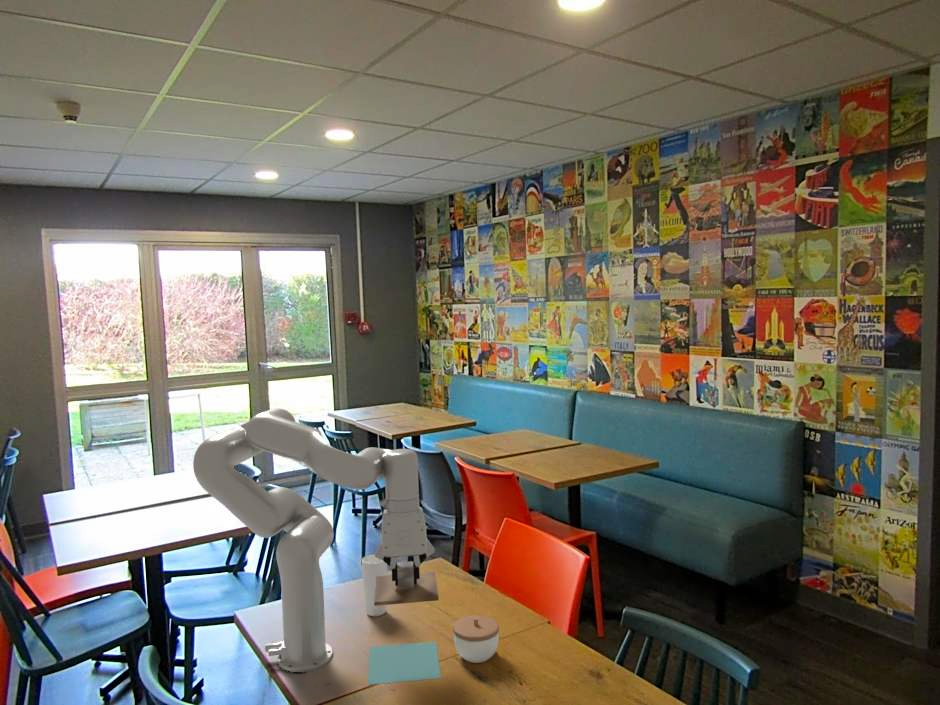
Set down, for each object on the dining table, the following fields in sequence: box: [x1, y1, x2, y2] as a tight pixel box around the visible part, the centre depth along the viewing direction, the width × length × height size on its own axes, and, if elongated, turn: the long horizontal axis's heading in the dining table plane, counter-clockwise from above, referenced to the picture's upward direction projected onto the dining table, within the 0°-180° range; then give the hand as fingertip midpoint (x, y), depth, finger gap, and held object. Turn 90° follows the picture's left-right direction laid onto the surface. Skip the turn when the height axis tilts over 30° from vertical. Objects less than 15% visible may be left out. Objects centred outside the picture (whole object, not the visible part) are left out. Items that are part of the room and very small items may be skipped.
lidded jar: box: [452, 614, 500, 664], centre depth 152 cm, size 11×11×9 cm
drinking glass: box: [361, 553, 388, 617], centre depth 175 cm, size 7×7×15 cm
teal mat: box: [367, 641, 442, 686], centre depth 150 cm, size 16×16×1 cm
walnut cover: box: [374, 560, 440, 606], centre depth 149 cm, size 14×14×6 cm
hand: (406, 582), depth 149 cm, fingers closed on walnut cover, 3 cm apart
